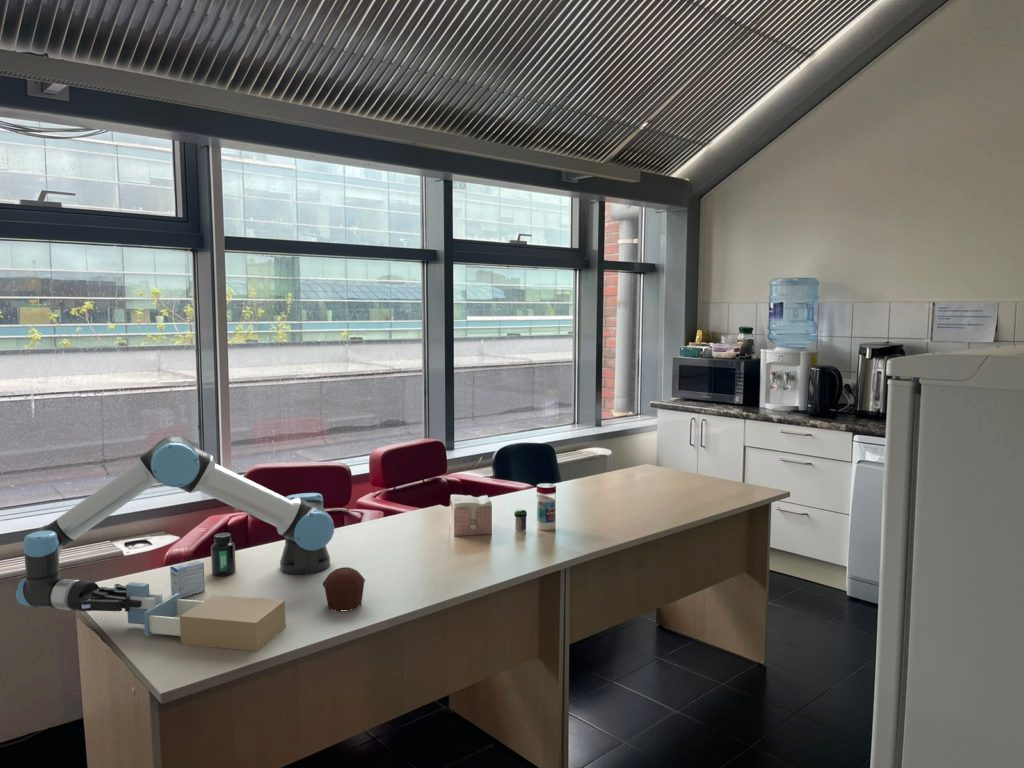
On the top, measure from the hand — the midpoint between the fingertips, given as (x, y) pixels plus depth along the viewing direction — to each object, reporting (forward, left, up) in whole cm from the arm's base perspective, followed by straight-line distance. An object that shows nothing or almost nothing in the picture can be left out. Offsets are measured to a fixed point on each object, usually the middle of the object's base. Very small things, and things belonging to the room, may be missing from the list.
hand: (157, 601), depth 193 cm
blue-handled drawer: (-6, +3, -6) cm, 9 cm away
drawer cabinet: (-18, +11, -7) cm, 22 cm away
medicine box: (-5, -23, -7) cm, 25 cm away
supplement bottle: (-14, -39, -7) cm, 42 cm away
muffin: (-46, 0, -7) cm, 47 cm away
